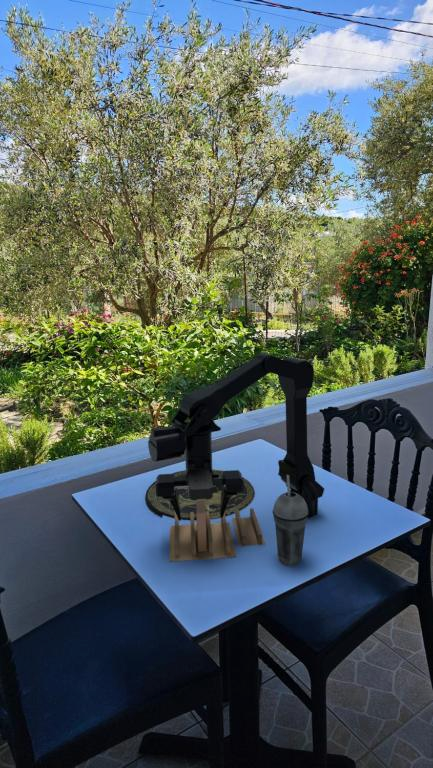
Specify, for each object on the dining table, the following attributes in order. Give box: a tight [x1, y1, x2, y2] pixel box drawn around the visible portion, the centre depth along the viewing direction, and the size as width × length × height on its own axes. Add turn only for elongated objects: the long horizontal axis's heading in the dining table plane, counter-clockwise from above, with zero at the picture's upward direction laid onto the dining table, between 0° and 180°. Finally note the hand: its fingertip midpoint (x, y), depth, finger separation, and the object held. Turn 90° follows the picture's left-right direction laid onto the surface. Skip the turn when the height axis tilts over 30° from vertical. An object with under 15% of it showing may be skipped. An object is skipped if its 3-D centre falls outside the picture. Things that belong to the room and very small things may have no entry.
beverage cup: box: [272, 475, 309, 567], centre depth 96 cm, size 7×7×20 cm
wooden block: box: [195, 499, 207, 552], centre depth 104 cm, size 2×9×9 cm, turn 5°
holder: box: [232, 507, 266, 547], centre depth 109 cm, size 6×12×3 cm, turn 5°
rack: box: [168, 511, 237, 563], centre depth 105 cm, size 14×14×4 cm
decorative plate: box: [144, 468, 256, 522], centre depth 128 cm, size 30×2×30 cm
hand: (200, 518), depth 104 cm, fingers open, 9 cm apart
